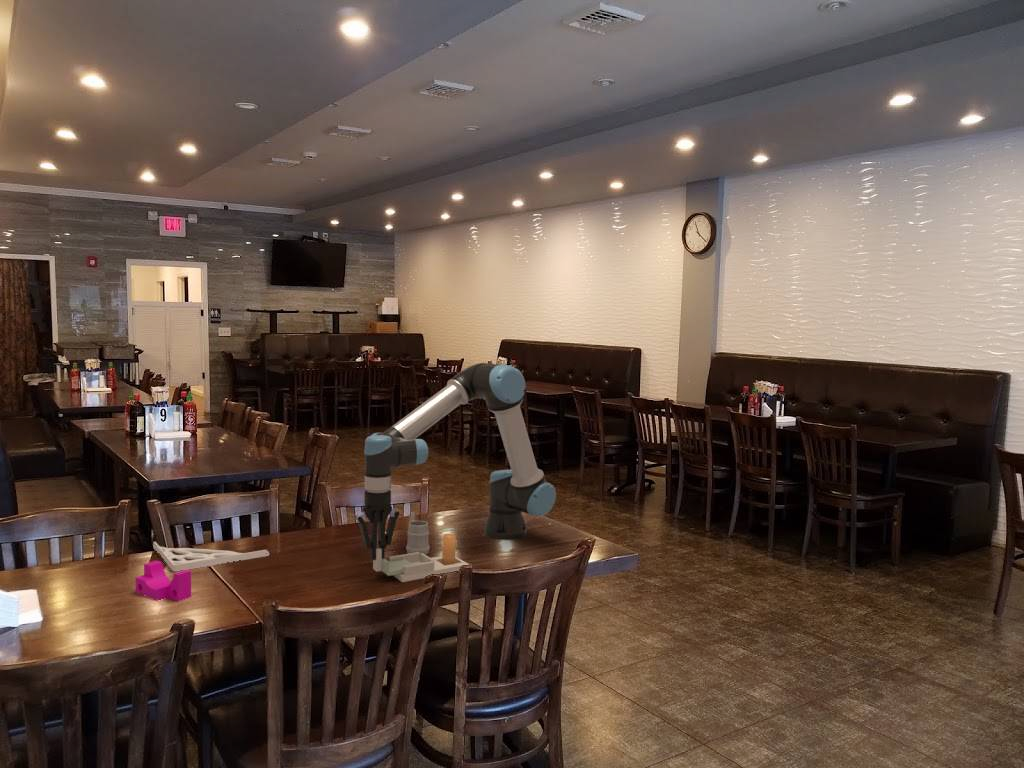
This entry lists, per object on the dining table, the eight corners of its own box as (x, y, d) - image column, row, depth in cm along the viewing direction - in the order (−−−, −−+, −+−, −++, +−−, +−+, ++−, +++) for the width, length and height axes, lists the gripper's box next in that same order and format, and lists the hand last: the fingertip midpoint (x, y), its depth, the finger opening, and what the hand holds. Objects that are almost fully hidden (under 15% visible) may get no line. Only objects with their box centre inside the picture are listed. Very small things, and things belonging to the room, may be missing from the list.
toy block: (135, 593, 204) (135, 566, 203) (156, 586, 209) (156, 560, 208) (170, 605, 196) (169, 577, 195) (191, 598, 201) (190, 571, 201)
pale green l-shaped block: (405, 563, 226) (405, 549, 226) (416, 570, 220) (416, 556, 219) (374, 568, 221) (374, 554, 220) (385, 576, 214) (385, 562, 214)
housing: (451, 560, 237) (452, 546, 236) (468, 570, 228) (469, 556, 227) (386, 571, 225) (387, 557, 224) (402, 583, 216) (402, 567, 215)
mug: (410, 557, 238) (411, 520, 237) (398, 547, 249) (399, 511, 248) (433, 554, 242) (433, 518, 241) (420, 544, 252) (421, 509, 251)
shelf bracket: (153, 549, 244) (153, 541, 243) (241, 536, 260) (241, 528, 260) (173, 574, 221) (173, 565, 221) (269, 558, 238) (269, 549, 237)
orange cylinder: (451, 564, 233) (452, 533, 232) (457, 568, 229) (458, 536, 229) (439, 566, 231) (440, 534, 230) (445, 570, 227) (446, 538, 226)
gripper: (393, 484, 222) (392, 562, 224) (351, 489, 215) (351, 569, 217) (404, 490, 215) (403, 570, 218) (361, 495, 208) (360, 577, 210)
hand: (377, 569), depth 217 cm, fingers closed
